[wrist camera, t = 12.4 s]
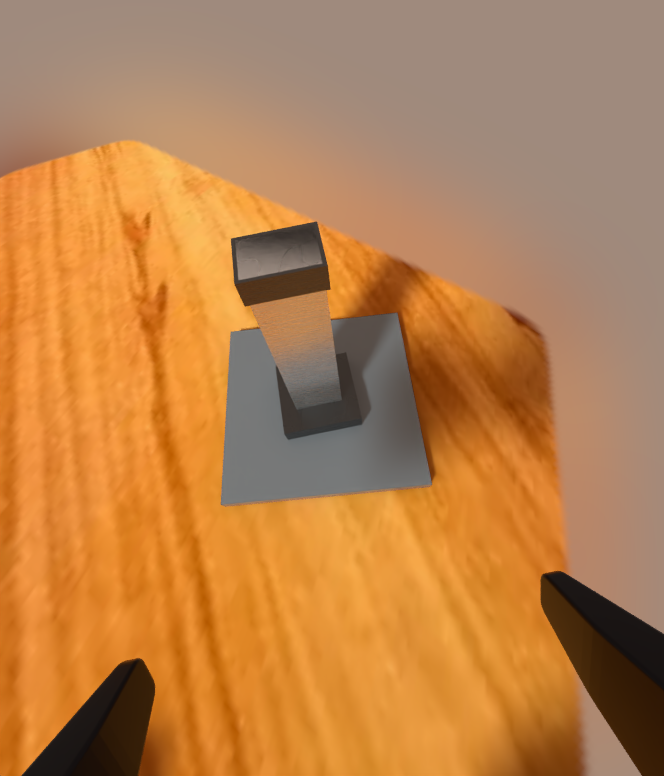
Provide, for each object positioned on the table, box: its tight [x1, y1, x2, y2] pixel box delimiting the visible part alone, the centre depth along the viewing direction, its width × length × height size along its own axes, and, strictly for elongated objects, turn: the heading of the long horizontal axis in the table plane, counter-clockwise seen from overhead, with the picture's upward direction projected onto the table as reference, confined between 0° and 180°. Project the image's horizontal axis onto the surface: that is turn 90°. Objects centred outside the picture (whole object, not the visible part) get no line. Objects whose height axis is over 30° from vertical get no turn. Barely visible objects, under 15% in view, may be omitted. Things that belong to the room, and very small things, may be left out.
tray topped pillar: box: [231, 222, 362, 440], centre depth 19 cm, size 5×5×13 cm
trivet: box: [221, 313, 432, 507], centre depth 25 cm, size 13×13×1 cm
